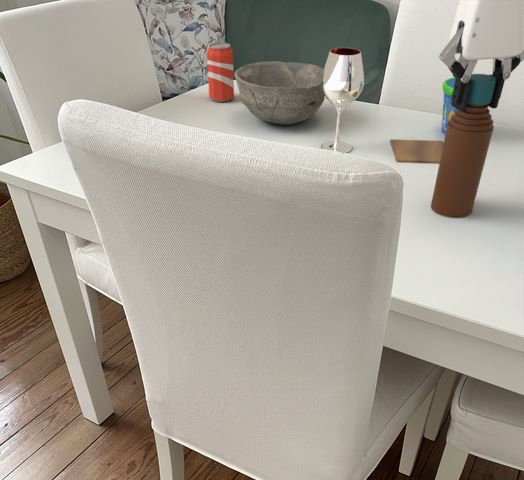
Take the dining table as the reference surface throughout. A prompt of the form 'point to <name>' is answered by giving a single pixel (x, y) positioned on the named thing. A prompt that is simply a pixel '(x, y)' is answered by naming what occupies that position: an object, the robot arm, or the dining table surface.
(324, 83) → the wineglass
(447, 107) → the snack cup
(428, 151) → the coaster
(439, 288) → the dining table surface
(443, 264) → the dining table surface
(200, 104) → the dining table surface
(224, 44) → the beverage can
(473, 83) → the cap
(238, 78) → the bowl
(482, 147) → the bottle
